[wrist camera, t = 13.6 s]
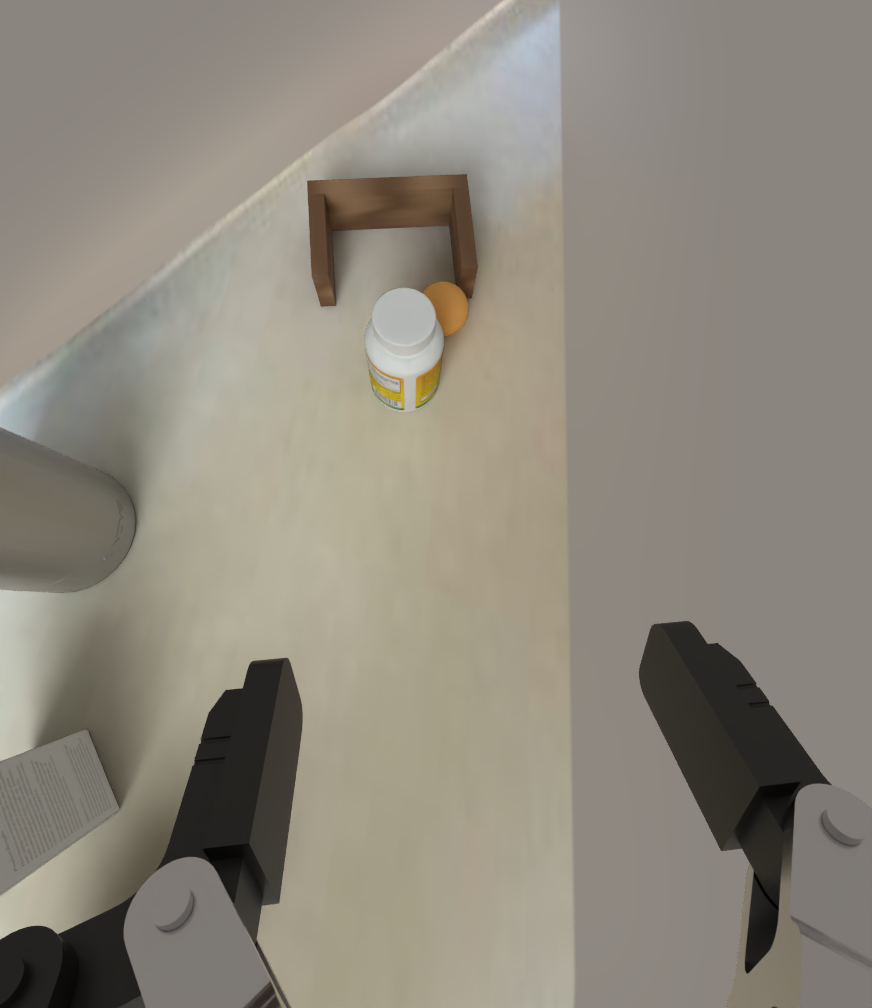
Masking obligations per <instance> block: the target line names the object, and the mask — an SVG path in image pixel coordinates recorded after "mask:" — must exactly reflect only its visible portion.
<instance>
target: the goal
mask: <svg viewBox="0 0 872 1008" xmlns="http://www.w3.org/2000/svg"><path fill="white" fill-rule="evenodd" d="M307 185H308V206H309V227H310V248H311V269H312V278H313V281H314V284H315V288H316V291H317V294H318V298H319V301H320V304H321V306H336V298H335V280H334V263H333V245H332V231H336V230H358V229H380V228H401V227H423V226H445V225H449V226H450V235H451V245H452V254H453V263H454V273H455V282H456V285H457V286H458V287H459V288H460V289H461V290H462V291H463V292H464V294H465V296H466V298H472V294H473V288H474V283H475V278H476V273H477V267H478V266H477V258H476V249H475V241H474V232H473V224H472V215H471V207H470V198H469V190H468V181H467V174H463V175H438V176H413V177H389V178H364V179H339V180H314V181H307Z"/></svg>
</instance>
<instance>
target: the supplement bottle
mask: <svg viewBox="0 0 872 1008" xmlns="http://www.w3.org/2000/svg"><path fill="white" fill-rule="evenodd" d="M443 347H444V336H443V331H442V328H441V325H440V323H439V322H438V320H437V319H436V312H435V309H434V306H433V304H432V303H431V301H430V300H429V298H428V297H427V296H425V295H424V294H423V293H421V292H419V291H417V290H415V289H411V288H396V289H392V290H390V291H388V292H386V293H385V294H383V295H382V296H381V297H380V298H379V299H378V300H377V302H376V303H375V305H374V308H373V311H372V318H371V320H370V321H369V323H368V325H367V328H366V332H365V350H366V355H367V361H368V367H369V374H370V379H371V385H372V389H373V392H374V394H375V396H376V397H377V399H378V400H379V401H380V402H381V403H382V404H383V405H384V406H386V407H388V408H389V409H391V410H394V411H398V412H412V411H416V410H419V409H421V408H423V407H424V406H425V405H427V404H428V403H429V402H430V401H431V400H432V398H433V397H434V395H435V393H436V391H437V388H438V384H439V376H440V369H441V361H442V354H443Z"/></svg>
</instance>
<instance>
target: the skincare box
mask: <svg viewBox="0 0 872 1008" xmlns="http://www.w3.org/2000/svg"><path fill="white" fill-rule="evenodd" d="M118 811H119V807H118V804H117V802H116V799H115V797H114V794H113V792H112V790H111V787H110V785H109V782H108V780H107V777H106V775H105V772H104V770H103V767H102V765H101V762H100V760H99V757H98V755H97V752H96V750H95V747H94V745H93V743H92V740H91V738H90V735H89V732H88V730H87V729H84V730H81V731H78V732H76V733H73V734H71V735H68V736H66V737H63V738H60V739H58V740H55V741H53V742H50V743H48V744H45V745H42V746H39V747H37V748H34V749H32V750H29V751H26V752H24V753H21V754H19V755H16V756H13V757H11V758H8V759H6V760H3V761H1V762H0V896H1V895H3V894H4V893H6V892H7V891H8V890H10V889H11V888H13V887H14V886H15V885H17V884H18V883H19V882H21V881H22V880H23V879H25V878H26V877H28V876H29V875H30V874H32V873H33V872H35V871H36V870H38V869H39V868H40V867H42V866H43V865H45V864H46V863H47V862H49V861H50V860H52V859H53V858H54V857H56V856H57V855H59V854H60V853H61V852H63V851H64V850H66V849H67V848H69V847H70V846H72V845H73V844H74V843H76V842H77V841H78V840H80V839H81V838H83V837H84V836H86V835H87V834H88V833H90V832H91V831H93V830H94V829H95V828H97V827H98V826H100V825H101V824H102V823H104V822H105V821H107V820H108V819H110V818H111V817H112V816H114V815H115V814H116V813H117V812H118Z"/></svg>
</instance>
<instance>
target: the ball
mask: <svg viewBox="0 0 872 1008" xmlns="http://www.w3.org/2000/svg"><path fill="white" fill-rule="evenodd" d="M422 293H423V294H424V295H425V296H427V297H428V298H429V300H430V301H431V303H432V304H433V306H434V309H435V312H436V319H437V320H438V322H439V323H440V325H441V328H442V331H443V336H448V335H451V334H454V333H455V332H457V331H458V330H459V329H460V328H461V327H462V326H463V325H464V323H465V321H466V319H467V316H468V308H469V307H468V301H467V298H466V296H465V294H464V292H463V291H462V290H461V289H460V288H459V287H458V286H457V285H455V284H453V283H450V282H445V281H441V282H436V283H433V284H431V285H430V286H428V287H427V288H426V289H425V290H424V291H423V292H422Z"/></svg>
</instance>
